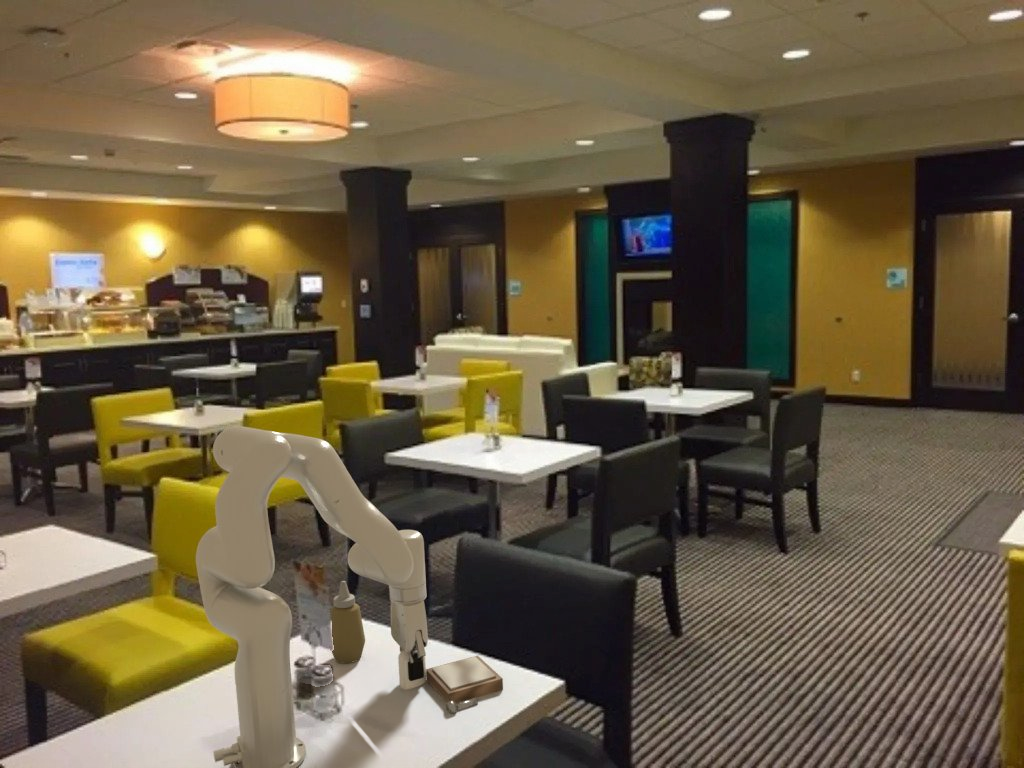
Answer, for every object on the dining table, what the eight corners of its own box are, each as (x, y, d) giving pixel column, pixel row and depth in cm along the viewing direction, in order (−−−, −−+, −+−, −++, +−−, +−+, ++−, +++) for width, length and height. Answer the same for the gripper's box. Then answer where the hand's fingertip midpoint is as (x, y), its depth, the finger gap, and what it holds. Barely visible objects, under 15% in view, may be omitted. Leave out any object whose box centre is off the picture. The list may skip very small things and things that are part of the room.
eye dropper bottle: (427, 689, 178) (424, 634, 177) (400, 693, 177) (397, 637, 176) (425, 679, 183) (422, 626, 181) (399, 683, 182) (396, 629, 180)
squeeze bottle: (328, 653, 197) (322, 578, 194) (363, 647, 199) (358, 573, 196) (331, 669, 189) (326, 590, 186) (368, 662, 191) (363, 585, 189)
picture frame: (449, 707, 171) (448, 691, 170) (426, 682, 181) (425, 667, 181) (503, 692, 176) (502, 676, 176) (478, 668, 187) (477, 653, 186)
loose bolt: (451, 718, 167) (452, 707, 167) (445, 710, 169) (446, 699, 169) (478, 709, 170) (479, 698, 170) (472, 701, 172) (473, 690, 172)
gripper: (377, 581, 183) (382, 663, 185) (404, 608, 168) (409, 696, 171) (410, 574, 186) (415, 654, 189) (440, 600, 171) (444, 686, 174)
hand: (412, 673), depth 180 cm, fingers closed on eye dropper bottle, 3 cm apart
